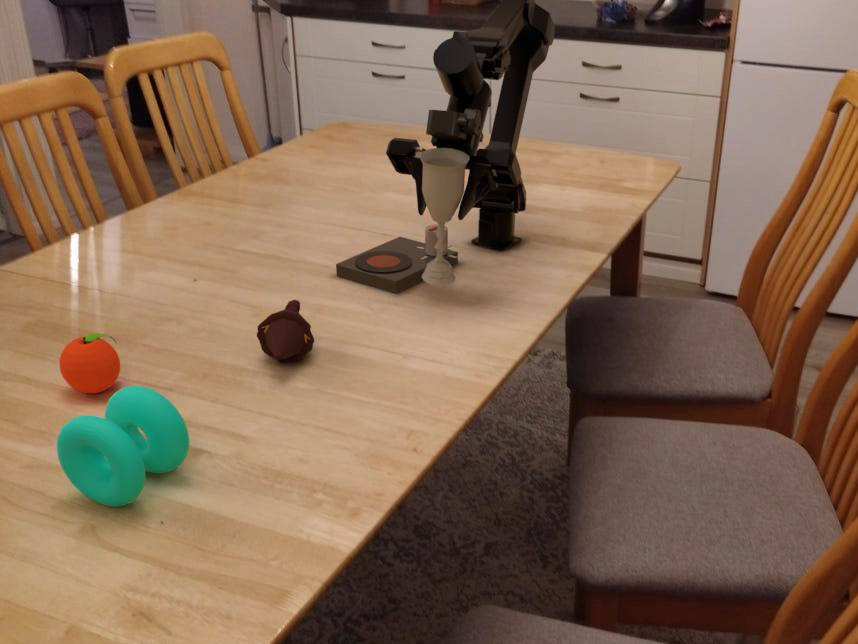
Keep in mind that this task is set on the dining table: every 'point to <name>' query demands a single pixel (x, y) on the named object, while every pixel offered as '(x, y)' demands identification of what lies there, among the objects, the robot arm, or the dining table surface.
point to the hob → (394, 280)
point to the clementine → (90, 364)
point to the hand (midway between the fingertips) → (439, 216)
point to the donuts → (123, 445)
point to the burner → (383, 262)
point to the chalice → (442, 202)
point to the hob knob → (434, 240)
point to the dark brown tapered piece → (286, 334)
